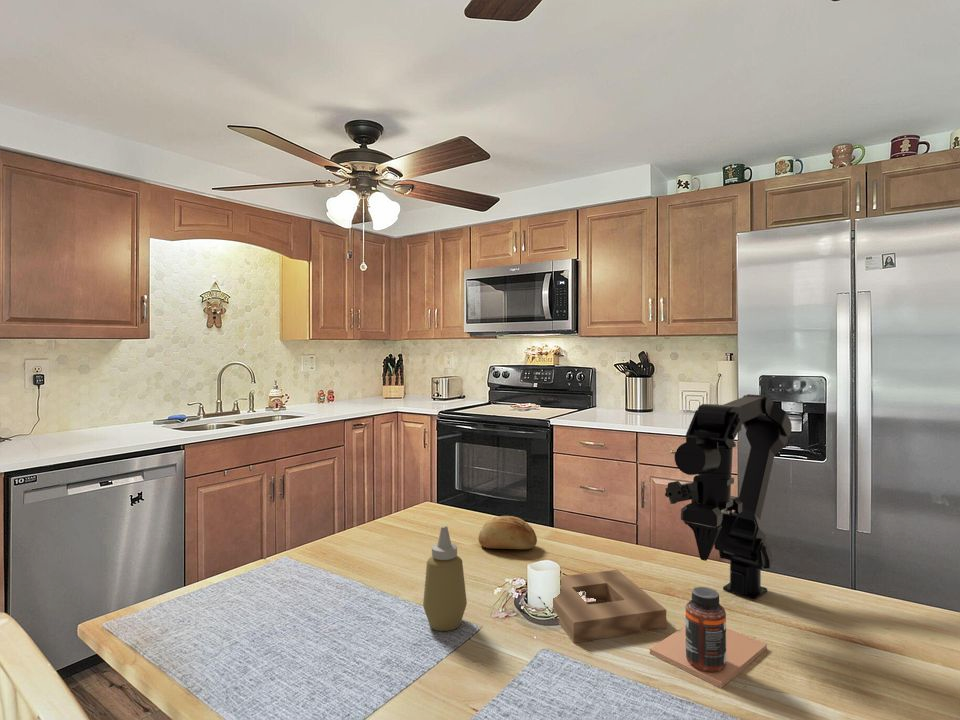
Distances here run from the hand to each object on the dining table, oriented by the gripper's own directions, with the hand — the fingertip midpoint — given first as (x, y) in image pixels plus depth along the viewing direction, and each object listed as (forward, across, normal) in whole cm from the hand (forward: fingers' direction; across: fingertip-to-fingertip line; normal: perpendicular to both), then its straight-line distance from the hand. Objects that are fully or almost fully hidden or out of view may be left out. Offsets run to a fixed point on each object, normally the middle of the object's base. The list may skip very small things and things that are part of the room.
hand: (711, 554), depth 101 cm
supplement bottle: (+13, +16, +4) cm, 21 cm away
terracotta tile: (+13, +11, +3) cm, 17 cm away
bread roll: (+12, -6, -50) cm, 52 cm away
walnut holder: (+13, +10, -17) cm, 24 cm away
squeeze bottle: (+16, +32, -37) cm, 51 cm away
